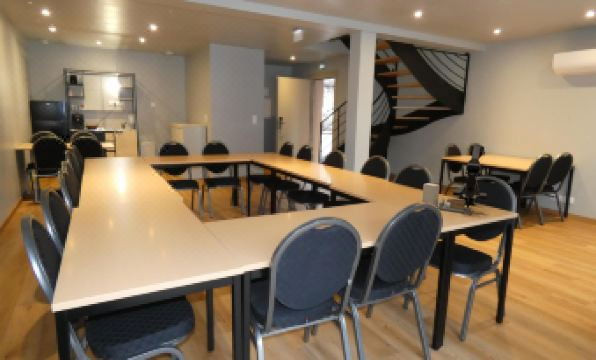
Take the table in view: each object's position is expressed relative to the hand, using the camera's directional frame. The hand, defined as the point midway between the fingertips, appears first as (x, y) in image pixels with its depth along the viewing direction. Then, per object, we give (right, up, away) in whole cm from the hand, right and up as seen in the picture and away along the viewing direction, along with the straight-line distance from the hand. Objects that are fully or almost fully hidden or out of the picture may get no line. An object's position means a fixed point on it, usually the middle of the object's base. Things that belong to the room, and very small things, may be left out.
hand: (467, 207), depth 228 cm
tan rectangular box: (-7, 0, +3) cm, 7 cm away
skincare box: (-21, 0, +7) cm, 23 cm away
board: (-6, -1, +4) cm, 7 cm away
